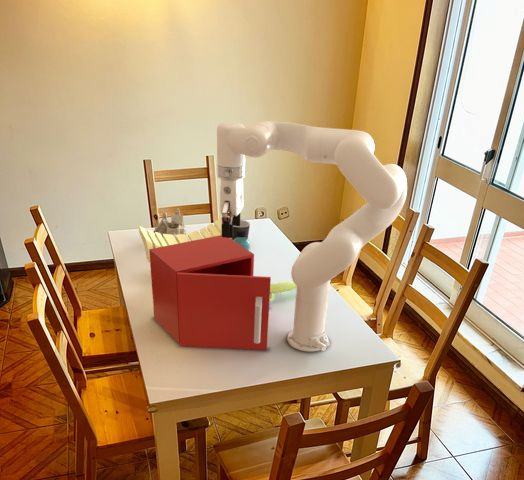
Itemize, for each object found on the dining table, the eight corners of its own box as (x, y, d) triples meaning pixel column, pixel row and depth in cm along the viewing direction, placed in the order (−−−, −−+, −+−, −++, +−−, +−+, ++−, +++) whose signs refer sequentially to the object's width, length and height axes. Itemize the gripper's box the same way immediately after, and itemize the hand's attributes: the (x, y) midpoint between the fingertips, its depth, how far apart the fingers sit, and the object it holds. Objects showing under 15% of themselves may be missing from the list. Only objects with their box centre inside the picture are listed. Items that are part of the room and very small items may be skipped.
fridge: (251, 323, 179) (254, 254, 166) (179, 344, 167) (175, 271, 154) (223, 300, 192) (223, 234, 178) (154, 318, 179) (149, 249, 166)
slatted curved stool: (150, 289, 196) (147, 242, 186) (142, 271, 208) (138, 225, 199) (231, 279, 206) (231, 233, 196) (218, 262, 218) (218, 218, 208)
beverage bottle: (247, 286, 201) (248, 234, 191) (229, 283, 202) (229, 231, 192) (251, 278, 207) (252, 227, 196) (233, 276, 208) (234, 225, 197)
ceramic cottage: (157, 236, 238) (156, 202, 229) (194, 241, 236) (194, 208, 227) (144, 251, 225) (141, 217, 216) (182, 258, 223) (182, 223, 214)
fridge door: (266, 361, 161) (270, 287, 148) (177, 356, 161) (173, 283, 148) (266, 348, 166) (270, 276, 154) (180, 344, 166) (177, 272, 154)
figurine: (321, 315, 185) (323, 300, 182) (242, 309, 186) (243, 294, 183) (320, 290, 201) (322, 276, 198) (247, 285, 202) (248, 271, 199)
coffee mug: (248, 250, 229) (249, 227, 224) (228, 249, 229) (228, 226, 224) (249, 240, 239) (250, 217, 234) (229, 239, 239) (230, 217, 233)
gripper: (237, 180, 143) (237, 243, 152) (250, 164, 157) (249, 222, 167) (209, 178, 144) (211, 240, 153) (225, 162, 158) (225, 220, 168)
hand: (231, 231), depth 160 cm, fingers open, 9 cm apart
